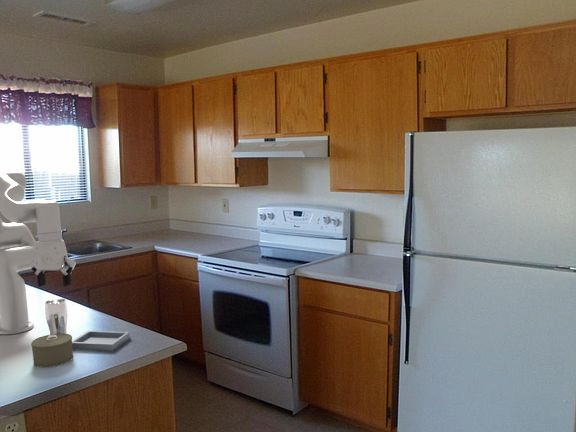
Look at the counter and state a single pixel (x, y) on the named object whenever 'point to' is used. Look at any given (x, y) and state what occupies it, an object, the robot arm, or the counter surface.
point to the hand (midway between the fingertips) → (54, 285)
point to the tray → (100, 340)
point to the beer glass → (56, 315)
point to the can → (52, 350)
